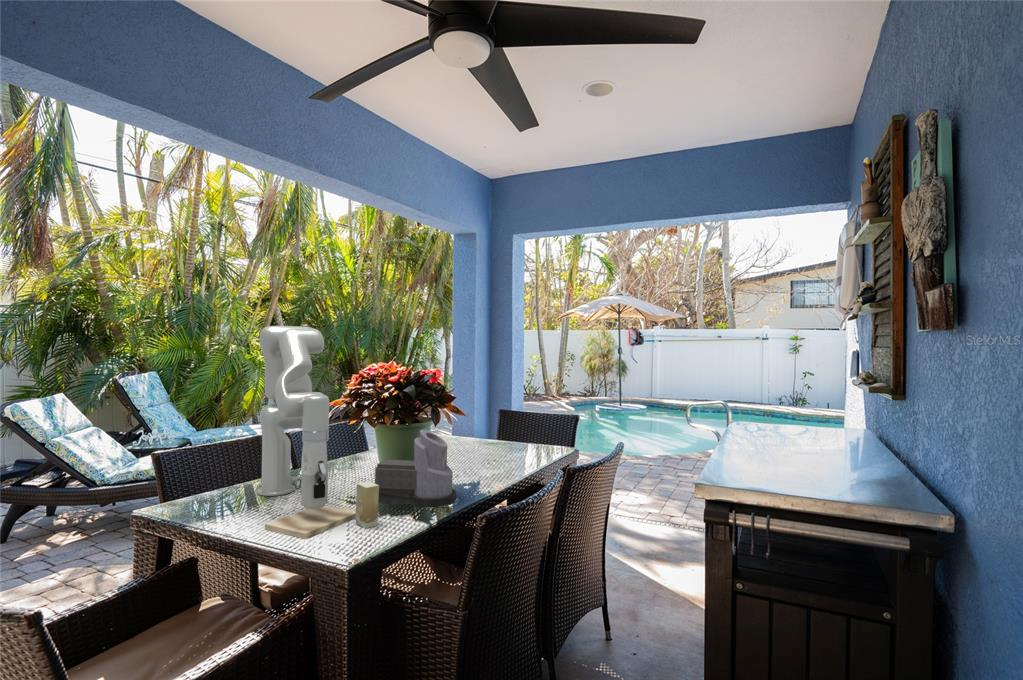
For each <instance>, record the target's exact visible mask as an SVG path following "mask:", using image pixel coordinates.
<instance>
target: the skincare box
mask: <svg viewBox="0 0 1023 680" xmlns="http://www.w3.org/2000/svg"><path fill="white" fill-rule="evenodd" d="M355 492H356V496H355V499H356V500H355V501H356V502H355V511H356V518H355V524H356V525H358V526H360V527H362V528H363V529H369V528H373V527H377V526H378V525H379V503H378V502H379V485H377V484H375V482H372V481H370V480H366V481H362V482H356V491H355Z"/></svg>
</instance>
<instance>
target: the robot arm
mask: <svg viewBox="0 0 1023 680" xmlns="http://www.w3.org/2000/svg"><path fill="white" fill-rule="evenodd" d="M259 345H260V349H261V353H262V356H263V359H264V393H265V396H266V399H269V400H274V401H275V403H270V404H267V405H264V406H263V407H262V408H261V409H260V412H259V421H260V427H261V428H260V430H261V444H262V445H261V486H260V487H258V488H257V489H256V494H257V495H259V496H263V497H272V496H273V497H275V496H277V497H278V496H283V495H287V494H290V493H292V492H294V491H295V489H296V487H295V485H293V484H294V483H296V482H299V481H301V476H300V475H296V476H291V465H292V463H291V461H292V460H291V459H292V457H291V456H292V454H291V453H292V451H291V450H292V449H291V448H292V447H291V446H292V444H291V439H290V438H289V437H288V435H287V434H286V433H285V432H284V431H287V430H295V429H297V430H298V429H301V430H302V433H301V435H302V437H301V442H302V447H301V448H302V449H301V463H300V464H301V465H300V470H301V472H302V471H303V470H304V467H305V468H307V473H308V475H309V476H310V477H312V476H313V475H314V480H315V485H314V499H318V498H324V497H325V484H326V481H325V480H326V475H327V470H328V449H327V447H328V446H327V442H328V441H329V439H330V438H329V435H330V434H329V433H330V430H329V427H330V399H329V396H328V395H326V394H323V393H322V392H320V391H313V383H312V380H311V377H310V375H308V374H309V373H311V371H312V369H313V362H312V359H311V355H310V354H314V355H315V354H320V353H322V352H323V350H324V348H325V338H324V336H323V334H322V332H321V331H320V330H318V329H317V328H314V327H311V326H300V325H299V326H298V325H297V326H296V325H270V326H269V325H268V326H266V327H263V328H262V329H261V331H260V334H259ZM316 472H320V474H316ZM318 476H320V477H319V478H318V479H317V477H318Z"/></svg>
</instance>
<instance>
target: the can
mask: <svg viewBox="0 0 1023 680" xmlns="http://www.w3.org/2000/svg"><path fill="white" fill-rule="evenodd" d="M300 473H301V476H300V478H301V479H300V481H301V485H300V486H301V487H300V491H301V492H300V493H301V494H300V496H301V497H300V504H301V506H302V507H303V508H305V509H316V508H321V507H323V506H325V505H327V504H328V499H329V497H328V496H329V493H328V492H329V489H328V487H329V486H328V485H329V484H328V483H329V470H328V469H327V475H326V480H325V481H326V484H325V497H324V498H318V499H314V485H315V480H314V475H313V476H312V477H310V476H309V475H308V473H307V468H305V467H304V470H303V471H302V470H301V472H300ZM316 474H320V472H316ZM319 477H320V476H318V477H317V479H318V478H319Z"/></svg>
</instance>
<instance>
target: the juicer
mask: <svg viewBox="0 0 1023 680" xmlns="http://www.w3.org/2000/svg"><path fill="white" fill-rule="evenodd" d="M413 446H414V450H413V453H414V454H413V457H414V458H413V460H406V459H405V460H403V459H401V460H400V459H384V460H382V461H380V462H379V463H377V465H376V466H375V467H374V468H375V469H374V483H375V484H377V485H379V502H378V504H390V505H404V504H412V505H411V506H413V505H415V506H414V507H416V506H420V507H419V508H422V507H438V506H448V505H451V504H454V503H455V500H456V497H457V491H456V490H455V489H453V477H454V476H453V475H454V474H453V470H452V468H451V467H450V466H449V465H448V464H447V463H448V448H449V447H448V444H447V442H446V441H445V440H444V439H443V438H442V437H440V436H439V435H438V434H435V433H434V432H432V431H429V430H427V429H420V431H419V437H416V438H414V445H413Z"/></svg>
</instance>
